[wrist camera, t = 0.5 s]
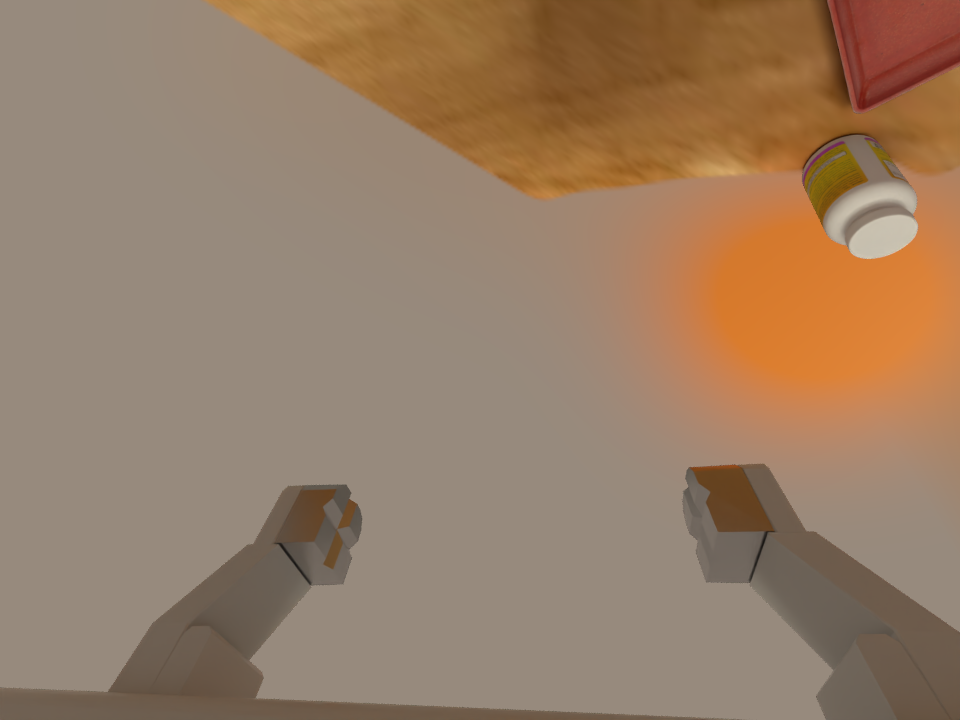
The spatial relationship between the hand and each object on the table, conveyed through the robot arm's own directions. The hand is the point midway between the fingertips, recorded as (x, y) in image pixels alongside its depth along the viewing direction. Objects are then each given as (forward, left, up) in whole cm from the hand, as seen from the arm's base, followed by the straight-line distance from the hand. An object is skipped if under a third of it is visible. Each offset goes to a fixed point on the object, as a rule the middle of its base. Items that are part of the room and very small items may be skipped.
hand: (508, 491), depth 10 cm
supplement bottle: (+25, +19, -47) cm, 57 cm away
